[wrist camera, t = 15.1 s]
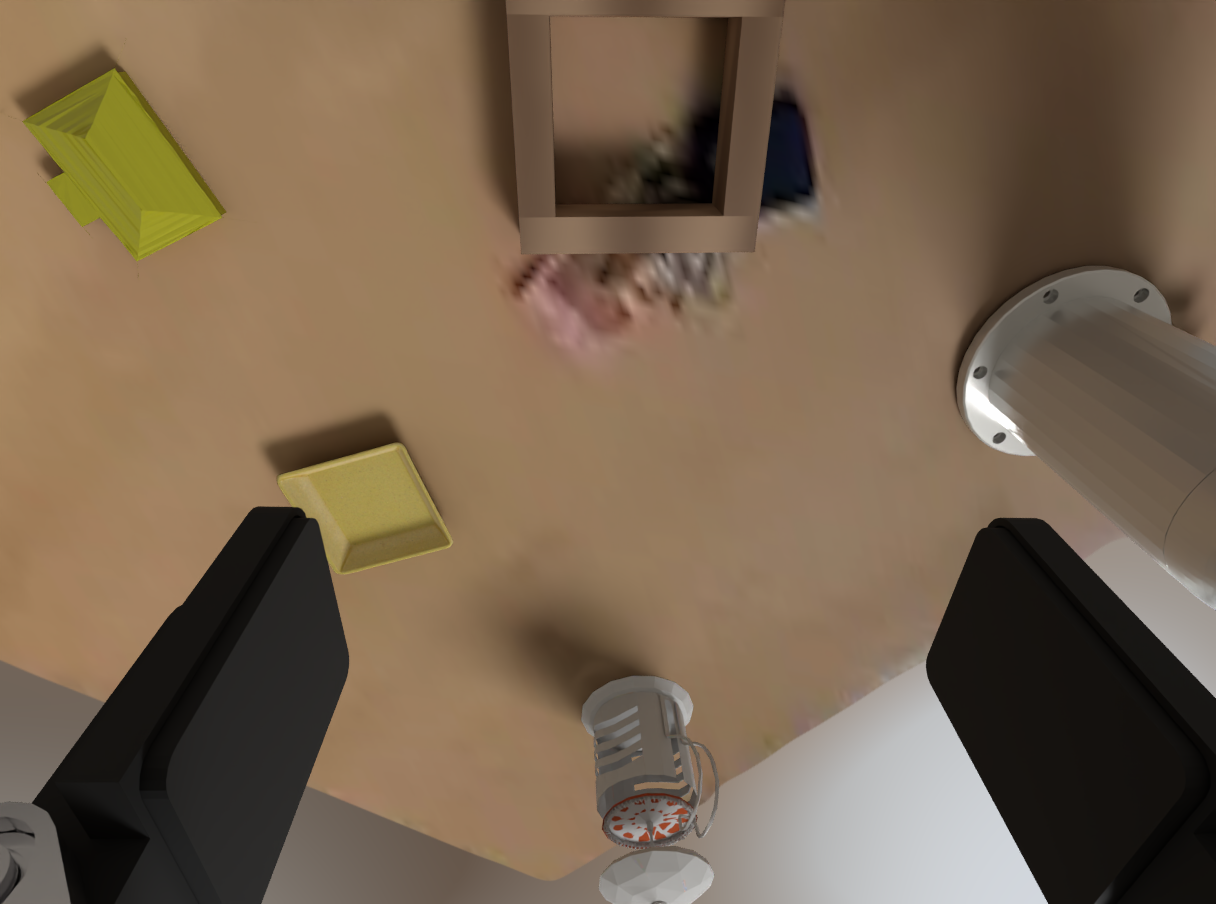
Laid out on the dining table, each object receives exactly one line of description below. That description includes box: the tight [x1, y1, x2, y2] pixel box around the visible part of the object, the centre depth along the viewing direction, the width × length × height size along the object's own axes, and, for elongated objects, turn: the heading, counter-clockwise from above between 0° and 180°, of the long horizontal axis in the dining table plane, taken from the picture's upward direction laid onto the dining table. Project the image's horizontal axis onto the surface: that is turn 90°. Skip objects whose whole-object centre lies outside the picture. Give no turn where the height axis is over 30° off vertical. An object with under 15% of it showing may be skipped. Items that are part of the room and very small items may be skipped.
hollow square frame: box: [506, 0, 785, 254], centre depth 33 cm, size 12×12×3 cm
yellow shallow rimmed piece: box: [277, 442, 453, 574], centre depth 45 cm, size 9×9×2 cm
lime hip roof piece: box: [9, 38, 226, 276], centre depth 33 cm, size 10×9×3 cm
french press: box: [581, 676, 719, 904], centre depth 48 cm, size 10×12×25 cm
